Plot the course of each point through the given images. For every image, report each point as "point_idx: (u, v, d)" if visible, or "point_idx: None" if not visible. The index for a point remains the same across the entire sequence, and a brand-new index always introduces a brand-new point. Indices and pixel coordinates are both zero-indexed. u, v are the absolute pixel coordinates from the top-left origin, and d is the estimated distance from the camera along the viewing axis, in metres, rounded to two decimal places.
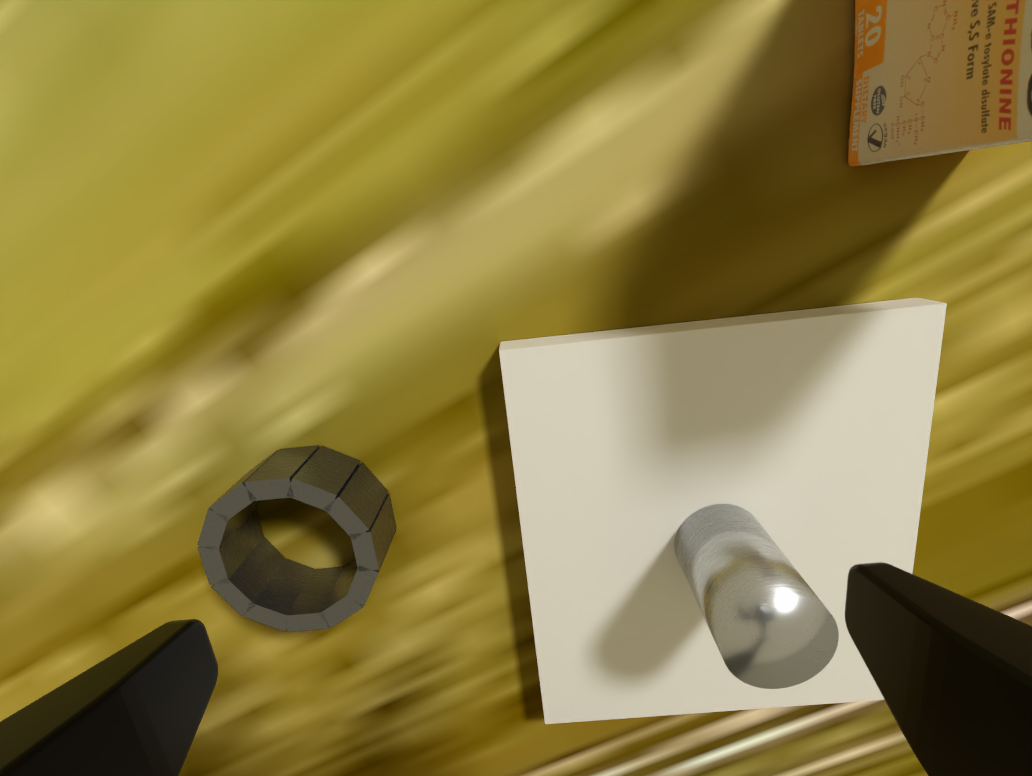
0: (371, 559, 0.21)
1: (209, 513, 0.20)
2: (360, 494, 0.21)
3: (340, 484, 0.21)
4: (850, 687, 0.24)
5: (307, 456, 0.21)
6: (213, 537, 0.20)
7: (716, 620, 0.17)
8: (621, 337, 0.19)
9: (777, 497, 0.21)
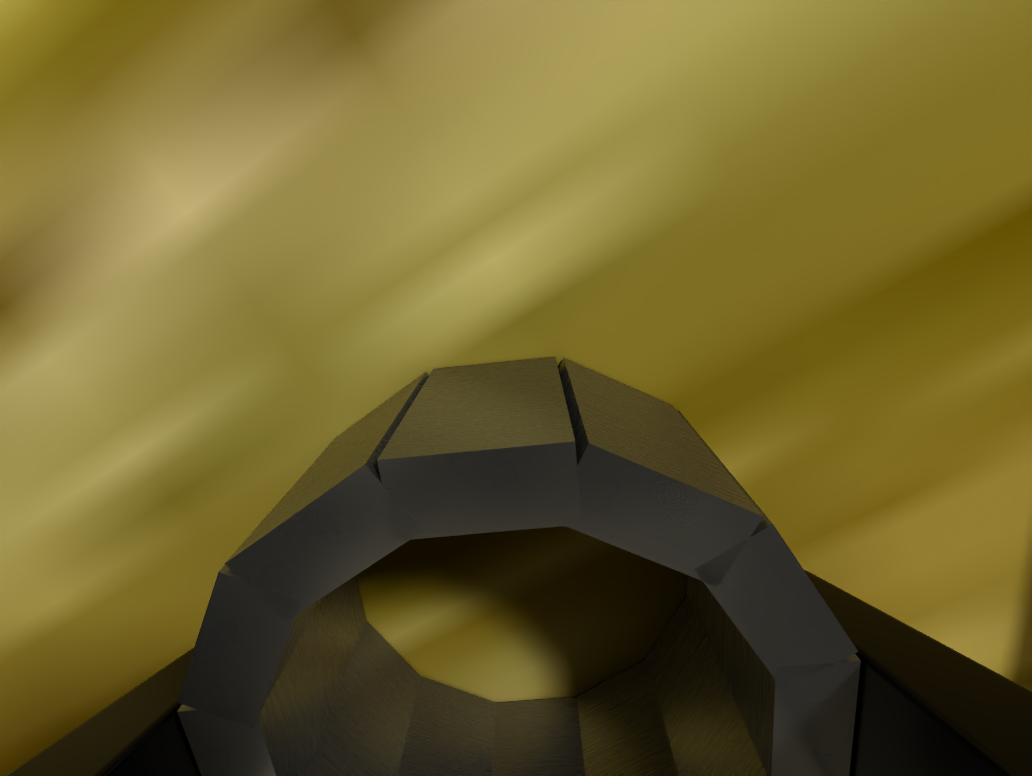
0: (829, 755, 0.06)
1: (224, 588, 0.05)
2: None
3: (719, 473, 0.05)
4: None
5: (555, 379, 0.06)
6: (238, 676, 0.05)
7: None
8: None
9: None
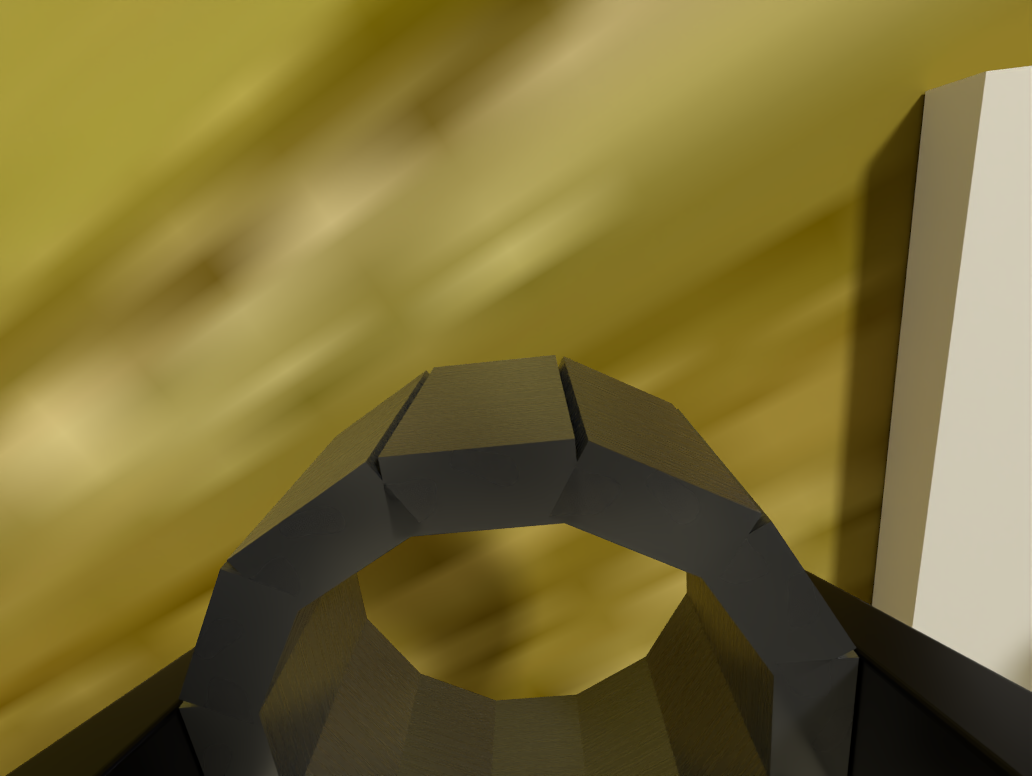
0: (828, 751, 0.06)
1: (225, 585, 0.05)
2: None
3: (718, 471, 0.05)
4: None
5: (555, 377, 0.06)
6: (239, 673, 0.05)
7: None
8: None
9: None
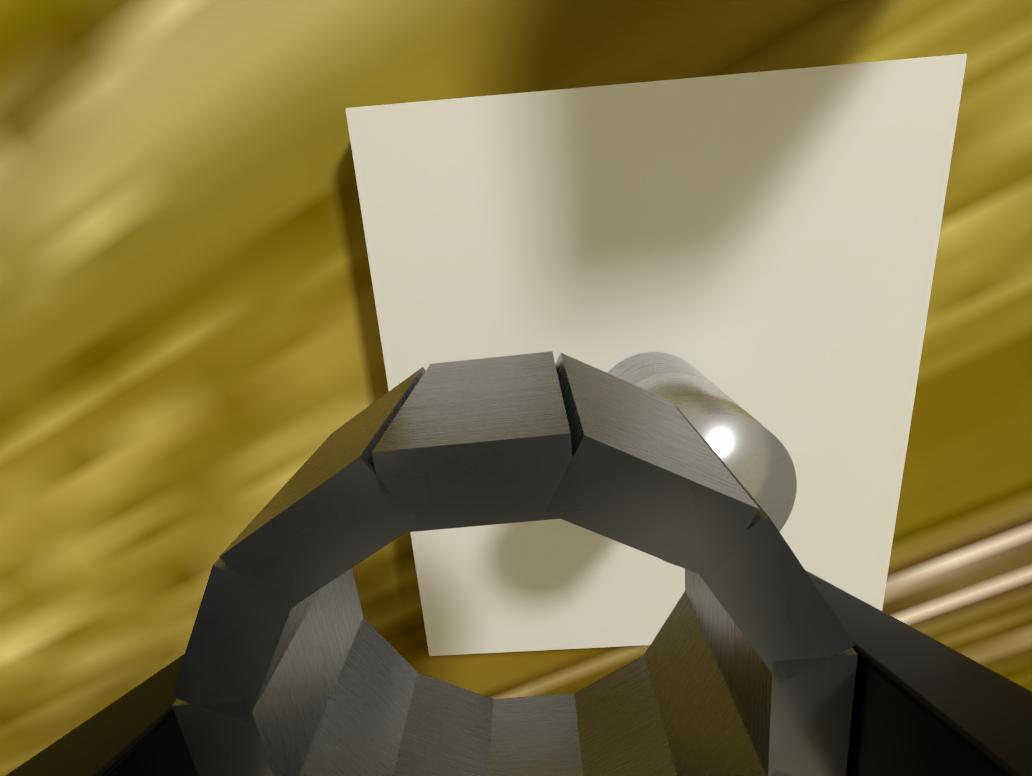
0: (826, 749, 0.05)
1: (218, 581, 0.05)
2: None
3: (716, 466, 0.05)
4: None
5: (552, 373, 0.06)
6: (233, 670, 0.05)
7: None
8: (515, 94, 0.14)
9: (729, 344, 0.16)
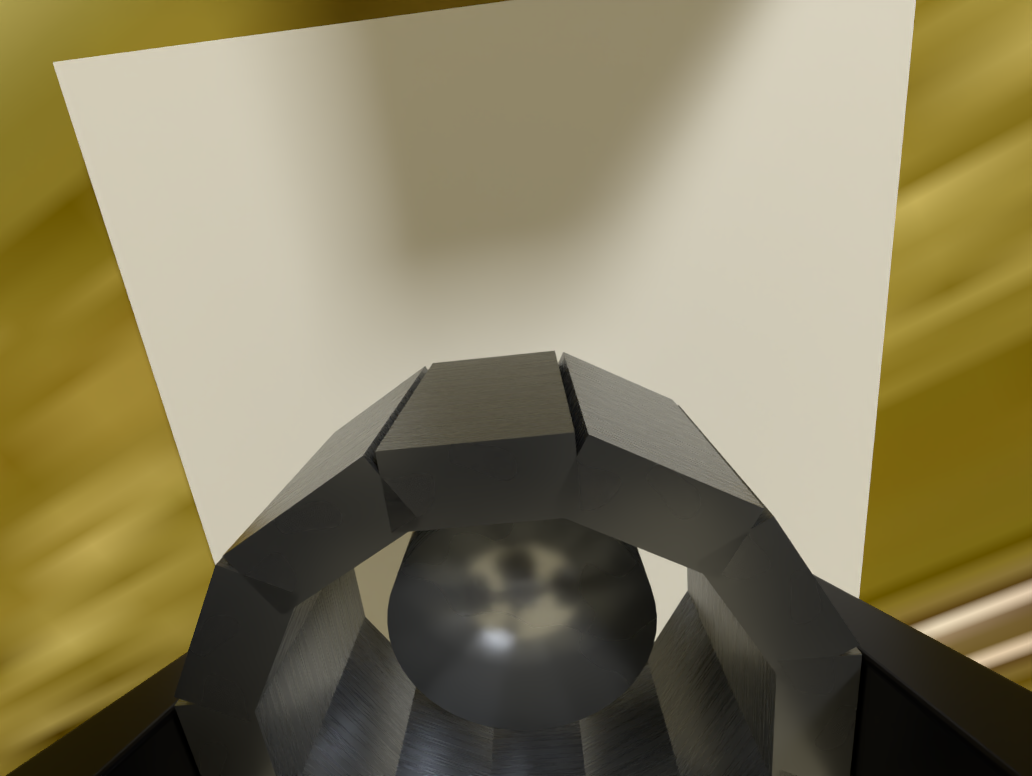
0: (831, 749, 0.05)
1: (221, 581, 0.05)
2: None
3: (720, 466, 0.05)
4: None
5: (555, 372, 0.06)
6: (235, 670, 0.05)
7: None
8: (285, 32, 0.10)
9: (618, 368, 0.12)
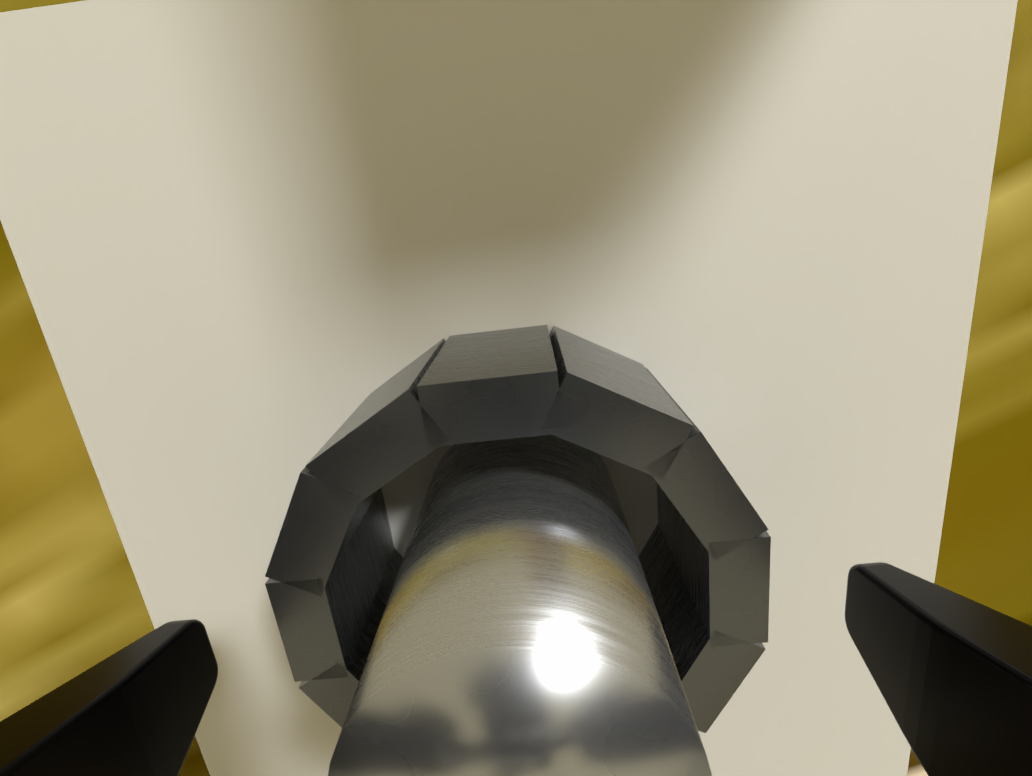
0: (753, 614, 0.07)
1: (303, 485, 0.07)
2: None
3: (668, 402, 0.07)
4: None
5: (546, 338, 0.08)
6: (311, 555, 0.07)
7: None
8: None
9: None
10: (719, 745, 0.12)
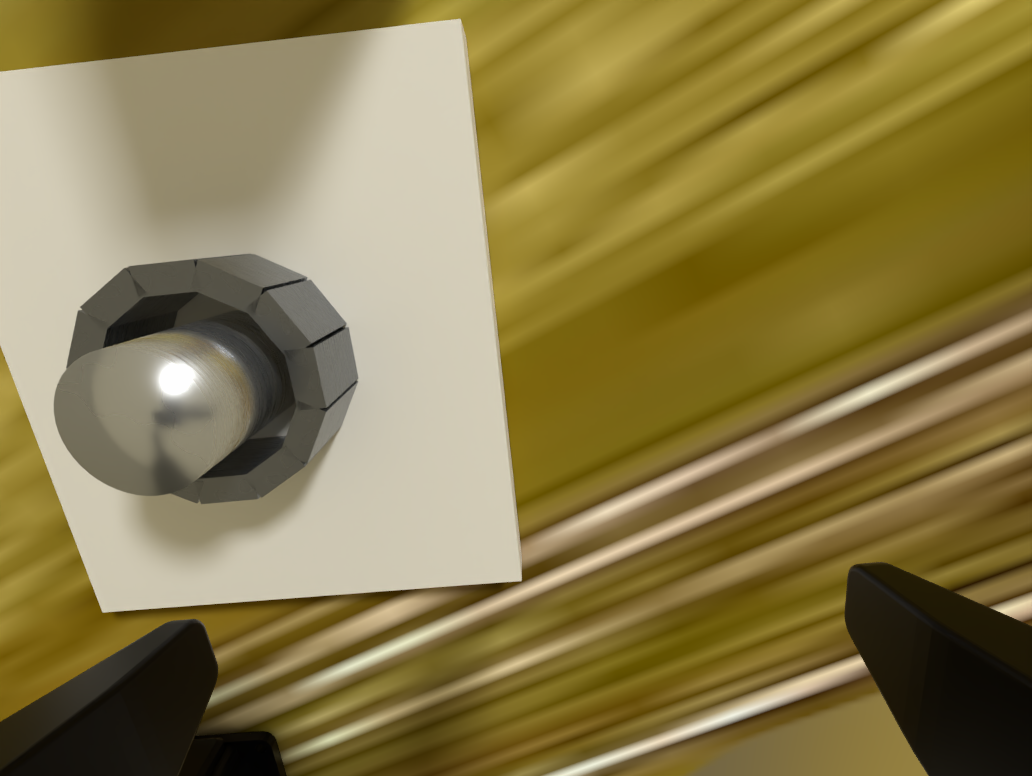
0: (315, 391, 0.14)
1: (80, 317, 0.14)
2: (302, 305, 0.15)
3: (272, 283, 0.14)
4: (462, 565, 0.19)
5: None
6: None
7: None
8: (55, 66, 0.15)
9: None
10: (398, 529, 0.19)
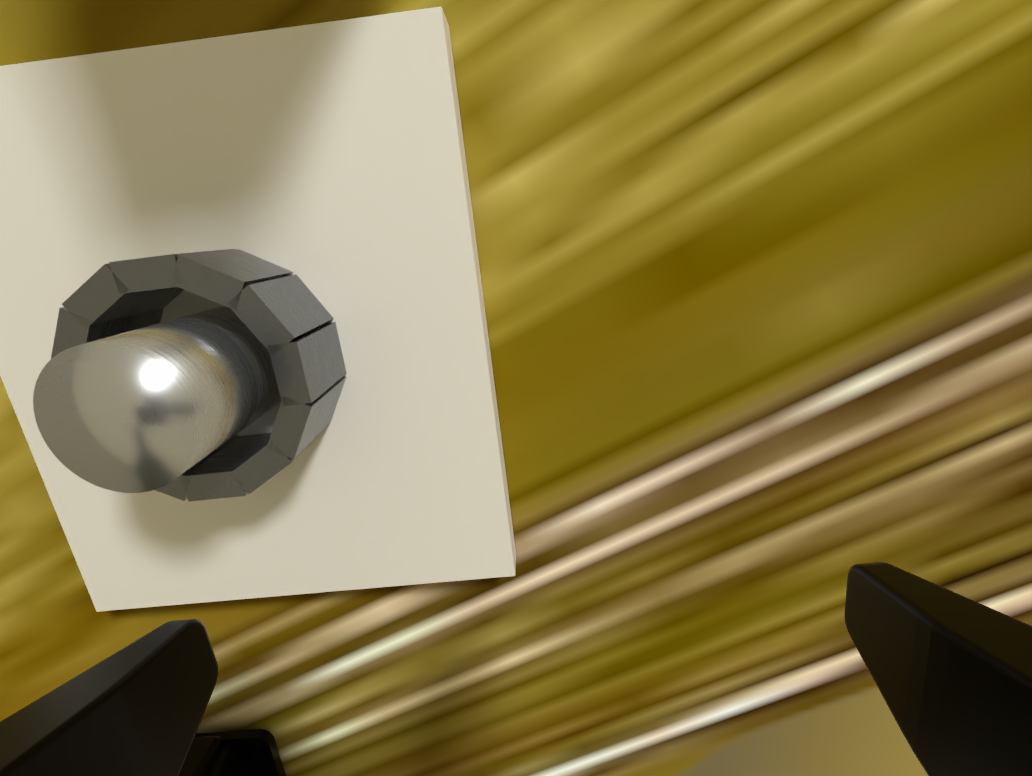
0: (300, 386, 0.14)
1: (62, 314, 0.14)
2: (286, 300, 0.15)
3: (254, 278, 0.14)
4: (455, 561, 0.19)
5: None
6: None
7: None
8: (34, 62, 0.15)
9: None
10: (389, 525, 0.19)
